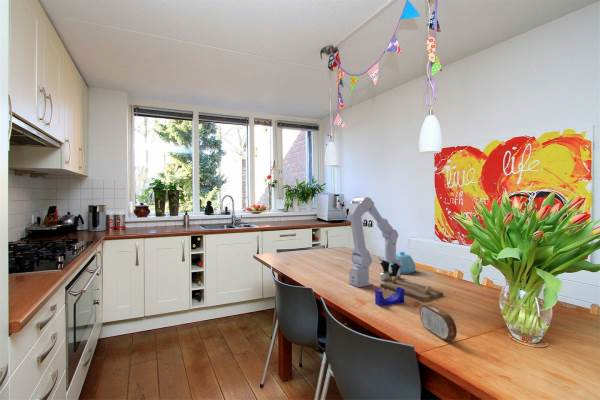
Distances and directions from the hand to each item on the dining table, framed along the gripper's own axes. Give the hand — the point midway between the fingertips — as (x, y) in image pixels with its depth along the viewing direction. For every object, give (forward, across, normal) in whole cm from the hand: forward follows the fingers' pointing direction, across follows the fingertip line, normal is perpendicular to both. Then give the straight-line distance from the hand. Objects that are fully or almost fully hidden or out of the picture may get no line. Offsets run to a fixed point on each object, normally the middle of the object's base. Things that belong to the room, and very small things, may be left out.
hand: (390, 276), depth 162 cm
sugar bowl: (+2, +8, -19) cm, 21 cm away
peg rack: (+1, -19, +8) cm, 21 cm away
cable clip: (+2, -24, +28) cm, 37 cm away
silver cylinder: (+2, 0, 0) cm, 2 cm away
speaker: (+2, -52, +37) cm, 64 cm away
